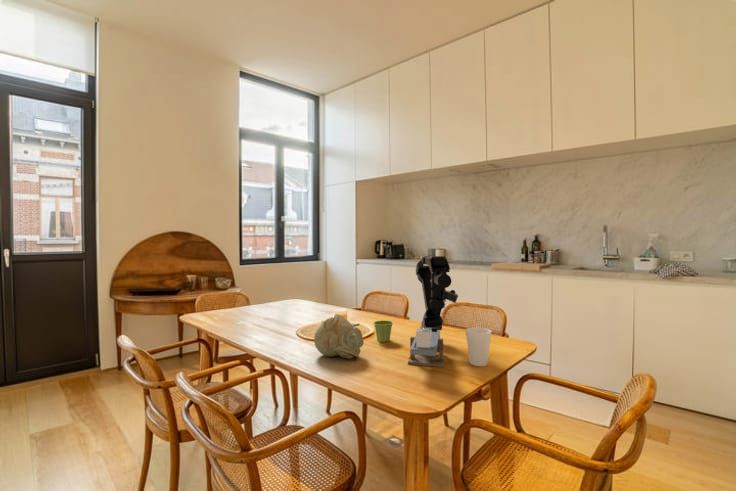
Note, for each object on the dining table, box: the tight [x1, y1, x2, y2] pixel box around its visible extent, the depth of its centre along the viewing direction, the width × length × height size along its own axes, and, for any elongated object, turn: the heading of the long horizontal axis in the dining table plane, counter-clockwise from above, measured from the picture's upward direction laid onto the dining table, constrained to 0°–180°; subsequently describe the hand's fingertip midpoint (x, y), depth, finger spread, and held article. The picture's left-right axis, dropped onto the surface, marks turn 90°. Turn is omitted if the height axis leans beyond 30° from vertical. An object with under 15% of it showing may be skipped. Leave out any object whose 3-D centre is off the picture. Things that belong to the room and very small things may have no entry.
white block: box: [415, 326, 432, 349], centre depth 134 cm, size 6×5×7 cm
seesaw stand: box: [407, 336, 446, 368], centre depth 145 cm, size 8×14×10 cm, turn 76°
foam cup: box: [465, 326, 492, 367], centre depth 143 cm, size 10×9×13 cm
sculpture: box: [313, 313, 365, 360], centre depth 154 cm, size 18×20×20 cm
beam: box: [409, 330, 441, 357], centre depth 144 cm, size 28×9×8 cm, turn 166°
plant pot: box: [373, 320, 394, 343], centre depth 176 cm, size 9×9×9 cm
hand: (438, 320), depth 160 cm, fingers closed
